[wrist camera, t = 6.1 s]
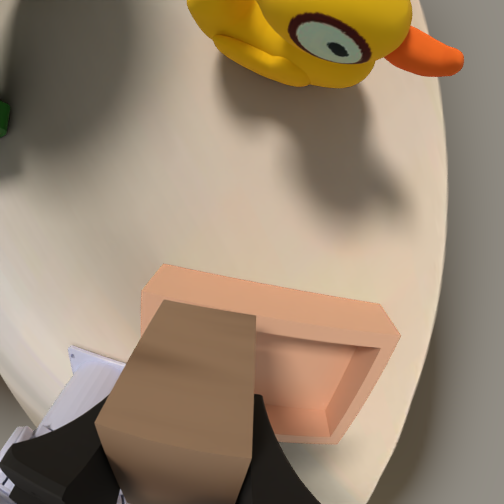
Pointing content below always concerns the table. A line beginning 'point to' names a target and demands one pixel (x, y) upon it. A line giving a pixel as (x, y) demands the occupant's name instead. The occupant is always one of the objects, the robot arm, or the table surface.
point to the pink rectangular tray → (294, 347)
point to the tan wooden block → (183, 408)
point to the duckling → (322, 39)
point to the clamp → (4, 118)
